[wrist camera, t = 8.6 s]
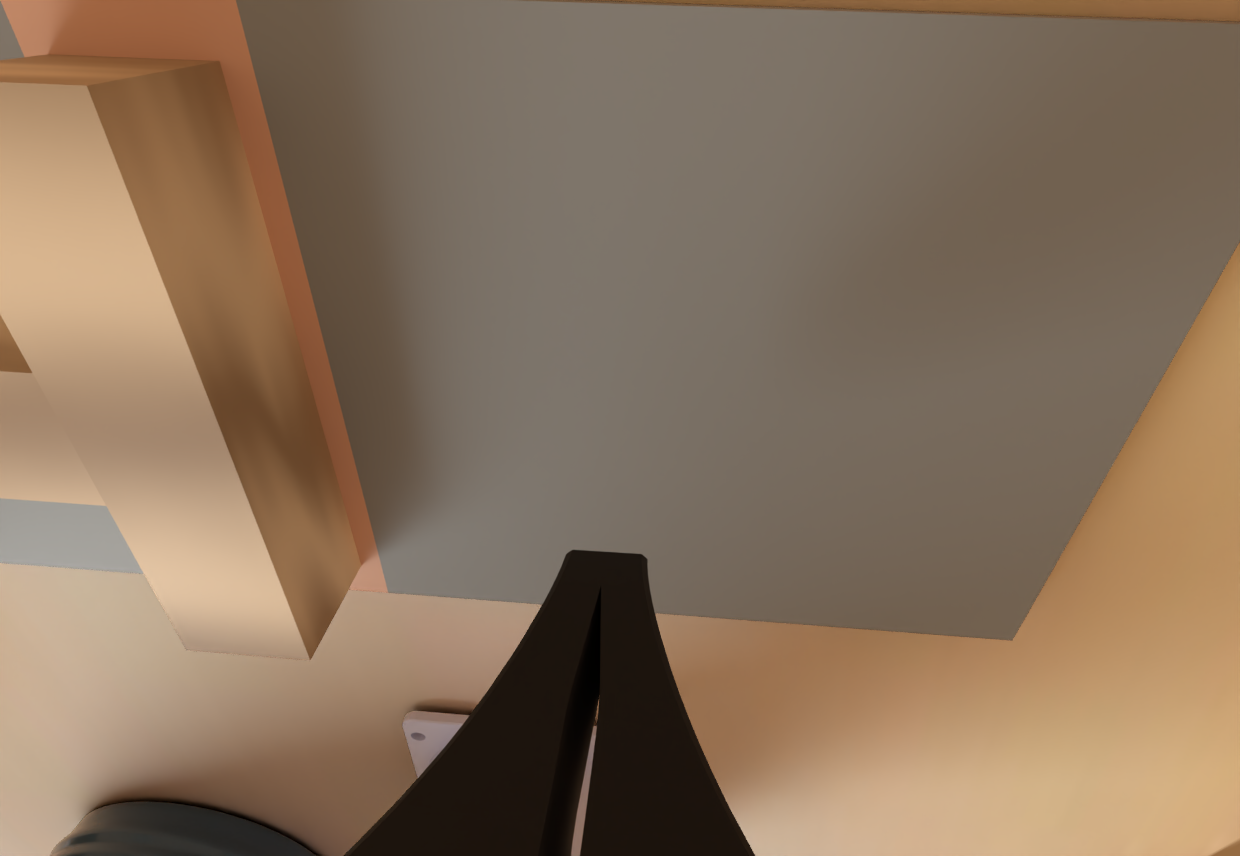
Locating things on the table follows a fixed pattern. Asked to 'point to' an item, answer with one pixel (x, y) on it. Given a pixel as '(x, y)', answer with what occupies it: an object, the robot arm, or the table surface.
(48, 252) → the t block
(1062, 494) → the slate board
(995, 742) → the table surface
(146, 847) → the canister
